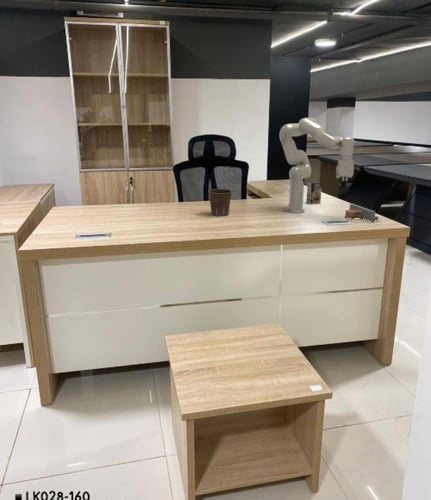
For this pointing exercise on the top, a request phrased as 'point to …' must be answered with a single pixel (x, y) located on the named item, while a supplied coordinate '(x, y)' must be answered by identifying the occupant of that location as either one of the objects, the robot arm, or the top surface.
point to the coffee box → (314, 193)
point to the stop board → (365, 212)
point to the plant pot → (220, 201)
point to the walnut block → (353, 214)
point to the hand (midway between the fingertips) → (343, 187)
